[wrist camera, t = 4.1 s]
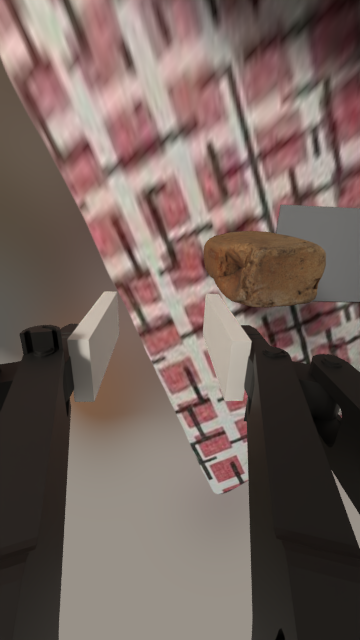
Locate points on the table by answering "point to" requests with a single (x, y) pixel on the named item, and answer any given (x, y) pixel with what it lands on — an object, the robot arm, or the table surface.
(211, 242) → the block
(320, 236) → the mat
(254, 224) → the table surface
